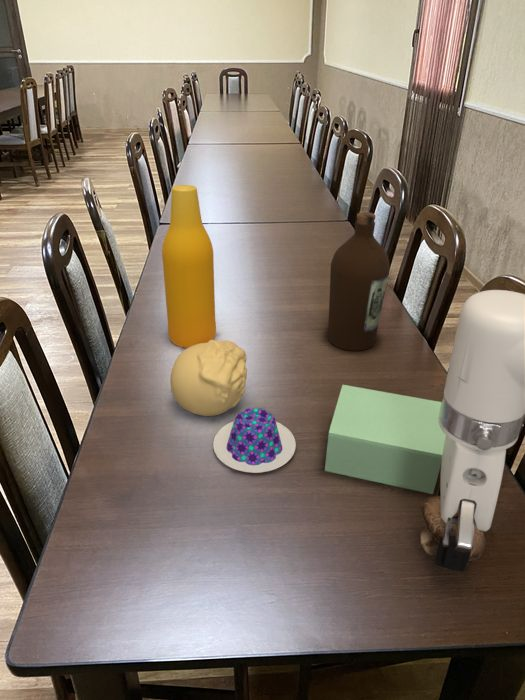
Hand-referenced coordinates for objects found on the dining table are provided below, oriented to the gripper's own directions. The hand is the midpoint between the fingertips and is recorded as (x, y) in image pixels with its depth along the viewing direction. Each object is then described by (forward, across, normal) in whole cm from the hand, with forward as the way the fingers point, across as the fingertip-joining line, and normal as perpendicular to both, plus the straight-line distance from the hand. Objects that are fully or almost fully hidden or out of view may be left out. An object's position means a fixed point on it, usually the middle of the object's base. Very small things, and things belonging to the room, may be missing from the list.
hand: (449, 535), depth 62 cm
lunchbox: (+3, +15, +9) cm, 18 cm away
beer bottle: (+2, +38, +48) cm, 61 cm away
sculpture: (+2, +19, +37) cm, 41 cm away
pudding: (+3, +11, +27) cm, 29 cm away
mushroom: (+2, 0, 0) cm, 2 cm away
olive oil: (+3, +47, +18) cm, 50 cm away
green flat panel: (-3, +15, +8) cm, 18 cm away
